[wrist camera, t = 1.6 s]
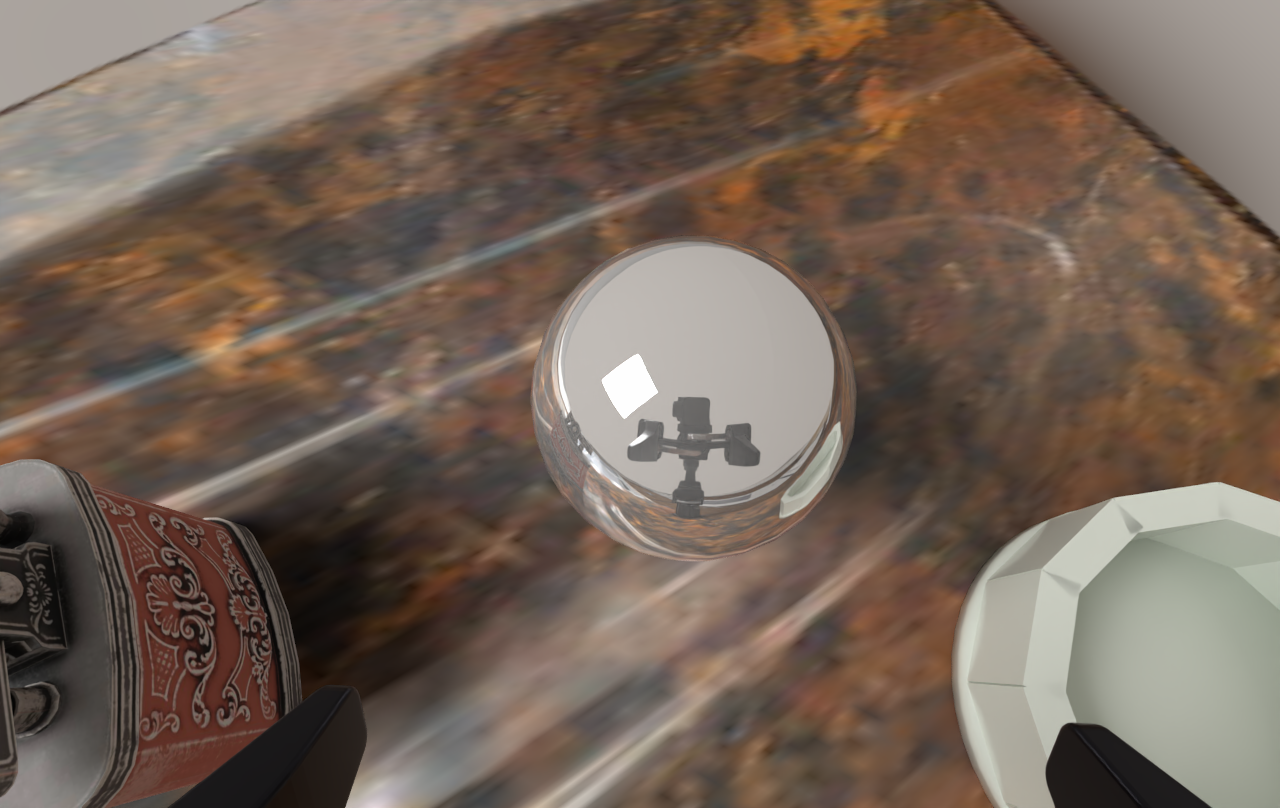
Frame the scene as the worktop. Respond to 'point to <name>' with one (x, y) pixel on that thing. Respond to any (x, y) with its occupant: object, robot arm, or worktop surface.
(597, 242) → the worktop surface
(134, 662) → the lighter
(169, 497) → the worktop surface
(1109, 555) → the bulb holder
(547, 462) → the light bulb
